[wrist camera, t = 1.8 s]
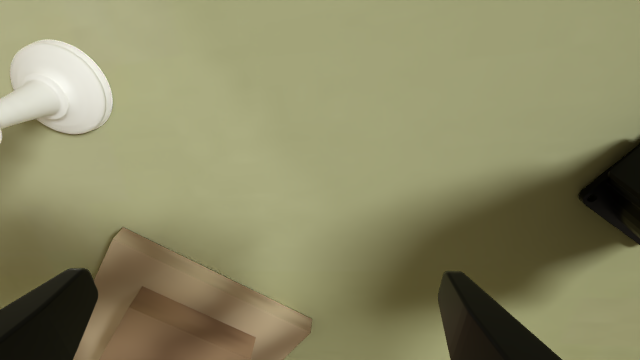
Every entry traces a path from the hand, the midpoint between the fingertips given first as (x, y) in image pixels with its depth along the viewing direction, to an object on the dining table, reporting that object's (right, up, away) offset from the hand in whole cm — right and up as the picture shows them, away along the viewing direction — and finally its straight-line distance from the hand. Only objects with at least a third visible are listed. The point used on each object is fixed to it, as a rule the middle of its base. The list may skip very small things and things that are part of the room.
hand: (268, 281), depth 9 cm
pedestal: (-10, -10, +20) cm, 24 cm away
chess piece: (-12, +8, +10) cm, 18 cm away
